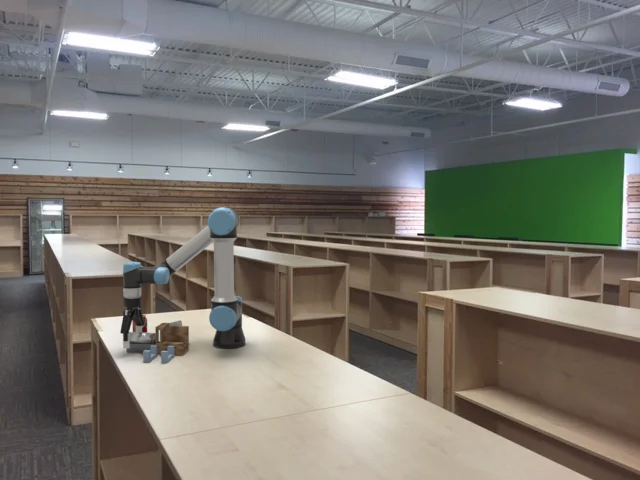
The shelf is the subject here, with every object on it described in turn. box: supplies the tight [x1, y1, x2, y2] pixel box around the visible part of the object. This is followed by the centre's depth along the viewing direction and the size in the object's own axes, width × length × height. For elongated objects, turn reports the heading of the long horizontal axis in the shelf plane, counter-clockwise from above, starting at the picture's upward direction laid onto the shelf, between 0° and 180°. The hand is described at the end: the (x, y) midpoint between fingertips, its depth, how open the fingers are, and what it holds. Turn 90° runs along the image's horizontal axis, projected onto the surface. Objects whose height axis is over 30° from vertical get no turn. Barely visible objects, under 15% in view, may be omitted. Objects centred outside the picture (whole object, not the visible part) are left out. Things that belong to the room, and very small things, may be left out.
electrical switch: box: [168, 320, 183, 326], centre depth 260 cm, size 9×5×9 cm, turn 152°
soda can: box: [131, 314, 148, 333], centre depth 258 cm, size 7×7×12 cm
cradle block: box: [142, 345, 175, 364], centre depth 228 cm, size 10×9×5 cm
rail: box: [126, 343, 156, 354], centre depth 240 cm, size 14×4×4 cm, turn 87°
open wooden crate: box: [154, 322, 190, 357], centre depth 239 cm, size 12×9×12 cm
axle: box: [129, 331, 156, 344], centre depth 240 cm, size 12×5×5 cm, turn 87°
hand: (132, 344), depth 240 cm, fingers open, 13 cm apart
